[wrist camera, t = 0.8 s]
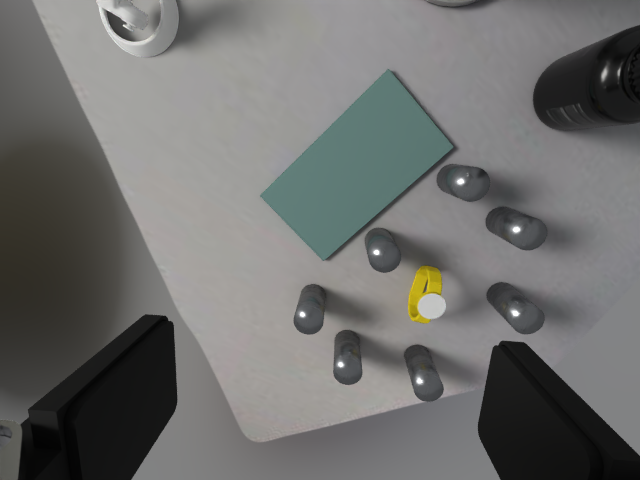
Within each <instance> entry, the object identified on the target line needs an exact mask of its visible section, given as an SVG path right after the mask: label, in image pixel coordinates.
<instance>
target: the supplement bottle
mask: <svg viewBox="0 0 640 480" xmlns="http://www.w3.org/2000/svg"><path fill="white" fill-rule="evenodd" d="M533 105H534V109H535V112H536V114H537V116H538V118H539V119H540V120H541V121H542V122H543V123H544V124H545V125H547V126H549V127H551V128H553V129H557V130H578V129H588V128H597V127H607V126H617V125H626V124H634V123H639V122H640V25H638V26H635V27H632V28H629V29H626V30H624V31H621V32H619V33H617V34H614V35H612V36H610V37H607V38H605V39H603V40H601V41H598V42H596V43H594V44H591V45H589V46H587V47H585V48H582V49H580V50H578V51H575V52H573V53H571V54H569V55H566V56H564V57H562V58H560V59H558V60H557V61H555V62H554V63H552V64H551V65H550V66H549V67H548V68H546V70H545V71H544V72H543V73H542V74H541V76H540V77H539V79H538V81H537V83H536V86H535V89H534V94H533Z"/></svg>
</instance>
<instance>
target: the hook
mask: <svg viewBox="0 0 640 480" xmlns="http://www.w3.org/2000/svg"><path fill="white" fill-rule="evenodd" d="M159 1H160V5H161V19H160V22H159V25H158V27H157V30H156V31H155V32H154V34H153V35H152V36H150V37H149V38H148V39H146V40H143V41H139V42H132V41H127V40H125V39H123V38H121V37H120V36H118V35H117V34H116V33H115V32H114V31H113V29H112V28H111V26H110V24H109V20H108V17H107V11H109V12H111V13H112V14H114V15H116V16H118V17H119V18H121V19H122V20H123V21H125V22H127V24H126V25H123V27H125V28H127V29H128V30H130V31H132V32H134V30H133V29H132V26H134V27H135V28H140V29H142V30H143V29H144V28H145V27H146V25H147V22H148V16H147V14H145V13H144V12H142V11H141V10H139V9H138V8H136V7H134V6H133V2H132V0H96V2H97V4H98V5H99V12H100V15H101V19H102V22H103V24H104V26H105V28H106V30H107V32H108V33H109V35H110V36H111V38H112V39H113V40H114V42H115V43H116V44H117V45H118V46H119V47H120V48H122V49H123V50H124V51H126V52H127V53H130V54H132V55H134V56H138V57H152V56H156V55H158V54H160V53H162V52H163V51H165V50H166V49H167V48H168V47H169V46H170V45H171V43H172V42H173V40H174V38H175V36H176V33H177V30H178V24H179V12H178V7H177V3H176V0H159Z"/></svg>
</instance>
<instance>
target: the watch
mask: <svg viewBox="0 0 640 480" xmlns="http://www.w3.org/2000/svg"><path fill="white" fill-rule="evenodd" d="M427 279H428V285H427V292H424V293H423V291H424V288H425V285H426V282H427ZM441 291H442V277H441V273H440V272H439V270H438V268H435V267H431V266H426V265H425V266H421V267H420V268H419V270H418V271H417V272H416V276H415V279H414V282H413V285H412V288H411V291H410V294H409V301H408V312H409V316H410V318H411V320H412V321H415V322H419V323H429V322H430V320H431V319H436V318H438V317H440V316H441V315H442V314H443V313H444V311H445V309H446V303H445V300H444V298H443V297H442V296H441Z"/></svg>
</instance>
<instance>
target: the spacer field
mask: <svg viewBox="0 0 640 480" xmlns="http://www.w3.org/2000/svg"><path fill="white" fill-rule="evenodd" d="M437 184H438V186H439V188H440V189H441V190H442V191H444V192H446V193H448V194H451V195H453V196H455V197H457V198H460V199H462V200H464V201H468V202H473V201H477V200H479V199H481V198H482V197H484V196H485V195H486V193H487V192H488V190H489V187H490V178H489V176H488V174H487V173H486V172H485V171H484V170H483V169H481V168H478V167H471V166H464V165H457V164H449V165H446V166H444V167H443V168H442V169H441V170H440V171H439V173H438V175H437ZM486 227H487V229H488V230H489V231H490V232H492V233H493V234H495V235H497V236H499V237H500V238H502V239H504V240H506V241H507V242H509V243H511V244H513V245H514V246H516V247H518V248H520V249H522V250H533V249H536V248H538V247H539V246H540V245H541V244H542V243H543V242H544V241H545V239H546V236H547V228H546V225H545V224H544V223H543V222H542V221H541V220H539V219H537V218H534V217H531V216H528V215H526V214H523V213H520V212H517V211H515V210H512V209H509V208H506V207H497V208H495V209H493V210H492V211H490V212H489V214H488V215H487V217H486ZM365 246H366V250H367V254H368V258H369V262H370V265H371V266H372V267H373V268H374V269H375V270H376V271H379V272H383V273H386V272H390V271H392V270H394V269H395V268H397V266H398V265H399V263H400V261H401V254H400V251H399V249H398V247H397V245H396V243H395V242H394V240H393V238H392V236H391V235H390V233H389V232H388V231H387V230H386V229H383V228H374V229H372V230H370V231H369V232H368V233H367V235H366V237H365ZM487 300H488V302H489V303H490V304H491V305H492V306H493V307H494V308H495V309H496V310H497V311H498V312H499V313H500V315H501V316H502V317H503V318H504V319H505V320H506V321H507V322H508V323H509V324H510V325H511V326H512V327H513V328H514V329H515V330H516V331H517V332H519V333H521V334H532V333H534V332H536V331H538V330H539V329H540V328H541V327H542V325H543V323H544V314H543V312H542V311H541V310H540V309H539V308H538V307H536V306H535V305H534V304H533V303H532V302H530V301H529V300H528V299H527V298H525V297H524V296H523V295H522V294H521V293H519V292H518V291H517V290H516V289H514V288H513V287H512V286H511V285H509V284H508V283H504V282H499V283H496V284H494V285H492V286H491V287H490V288H489V290H488V292H487ZM325 302H326V293H325V291H324V289H323V288H322V287H320V286H318V285H315V284H311V285H307V286H306V287H304V288H303V290H302V291H301V294H300V298H299V301H298V305H297V309H296V312H295V316H294V325H295V327H296V328H297V330H298V331H300V332H301V333H304V334H314V333H317V332H318V331H319V330H320V329H321V328H322V326H323V320H324V311H325ZM404 358H405V362H406V365H407V369H408V372H409V375H410V379H411V382H412V385H413V389H414V392H415V395H416V396H417V397H418V398H419V399H420V400H422V401H427V402H430V401H434V400H437V399H438V398H440V397H441V395H442V394H443V390H444V388H443V384H442V382H441V380H440V377H439V375H438V373H437V370H436V368H435V365H434V363H433V361H432V358H431V356H430V354H429V351H428V350H427V348H425V347H424V346H422V345H413V346H410V347H409V348H407V350H406V351H405V353H404ZM333 373H334V377H335V378H336V380H337V381H338V382H340V383H342V384H345V385H351V384H354V383H356V382H358V381H359V380H360V379H361V377H362V363H361V352H360V341H359V337H358V335H357V334H356V333H355V332H353V331H350V330H343V331H341V332H339V333H338V334H337V335H336V337H335V344H334V370H333Z"/></svg>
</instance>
